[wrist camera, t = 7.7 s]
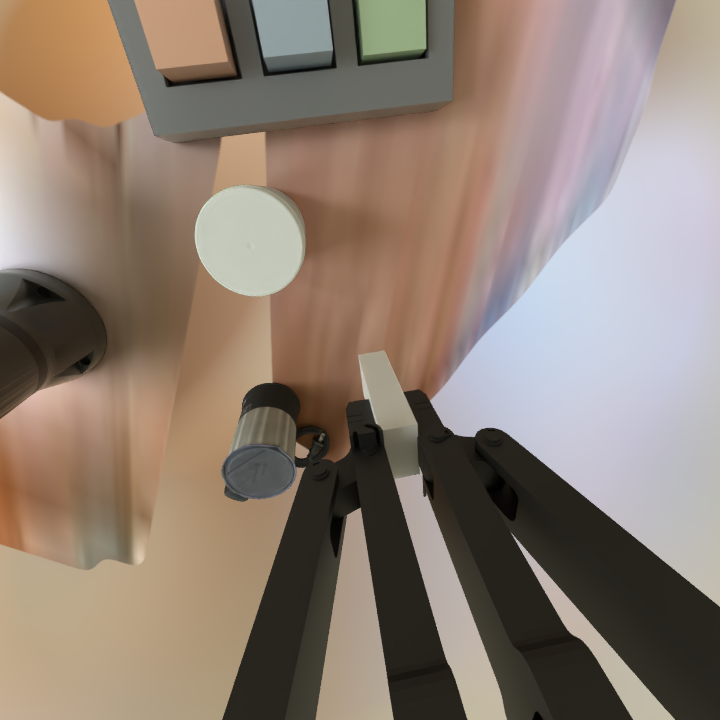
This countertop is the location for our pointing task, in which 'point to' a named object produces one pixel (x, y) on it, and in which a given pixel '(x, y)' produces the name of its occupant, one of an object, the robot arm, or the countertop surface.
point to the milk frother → (268, 445)
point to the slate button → (294, 33)
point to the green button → (389, 30)
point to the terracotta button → (187, 38)
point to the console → (289, 79)
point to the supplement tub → (251, 239)
